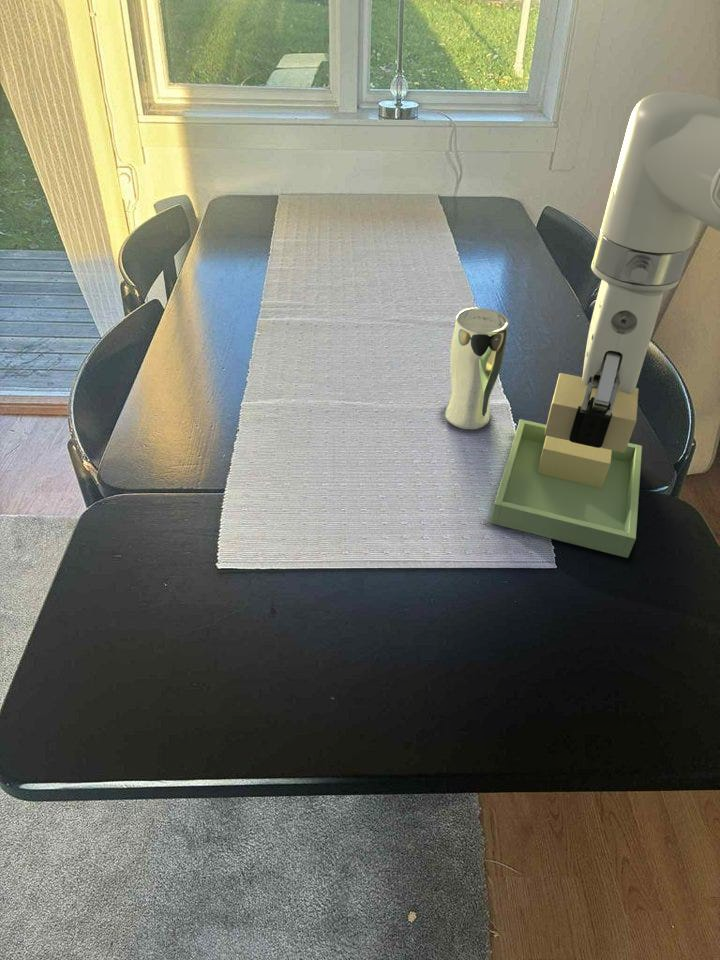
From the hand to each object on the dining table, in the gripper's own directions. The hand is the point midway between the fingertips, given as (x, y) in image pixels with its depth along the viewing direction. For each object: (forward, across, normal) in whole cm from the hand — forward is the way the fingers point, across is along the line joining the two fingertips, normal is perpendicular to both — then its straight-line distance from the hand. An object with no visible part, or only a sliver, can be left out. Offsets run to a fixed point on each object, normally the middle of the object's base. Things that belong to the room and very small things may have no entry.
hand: (588, 423), depth 72 cm
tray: (+15, +6, 0) cm, 16 cm away
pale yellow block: (+14, +11, 0) cm, 18 cm away
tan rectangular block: (+1, 0, 0) cm, 1 cm away
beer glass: (+15, +17, +14) cm, 27 cm away
